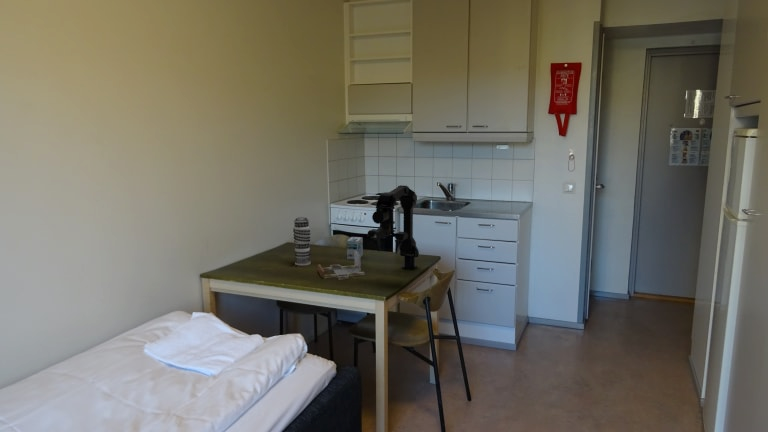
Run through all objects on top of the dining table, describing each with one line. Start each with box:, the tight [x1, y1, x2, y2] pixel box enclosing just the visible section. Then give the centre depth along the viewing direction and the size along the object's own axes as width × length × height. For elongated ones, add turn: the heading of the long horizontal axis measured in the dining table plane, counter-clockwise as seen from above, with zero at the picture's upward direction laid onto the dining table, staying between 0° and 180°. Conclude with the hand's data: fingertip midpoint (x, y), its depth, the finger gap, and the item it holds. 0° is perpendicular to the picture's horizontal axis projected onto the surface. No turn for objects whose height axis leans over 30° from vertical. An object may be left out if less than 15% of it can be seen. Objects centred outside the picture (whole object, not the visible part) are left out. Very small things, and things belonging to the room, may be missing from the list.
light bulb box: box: [346, 236, 364, 260], centre depth 293 cm, size 11×7×11 cm, turn 168°
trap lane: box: [317, 263, 365, 281], centre depth 262 cm, size 21×23×4 cm
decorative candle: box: [292, 216, 312, 266], centre depth 279 cm, size 9×9×25 cm
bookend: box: [332, 251, 362, 276], centre depth 263 cm, size 12×10×10 cm
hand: (387, 252), depth 246 cm, fingers open, 9 cm apart
